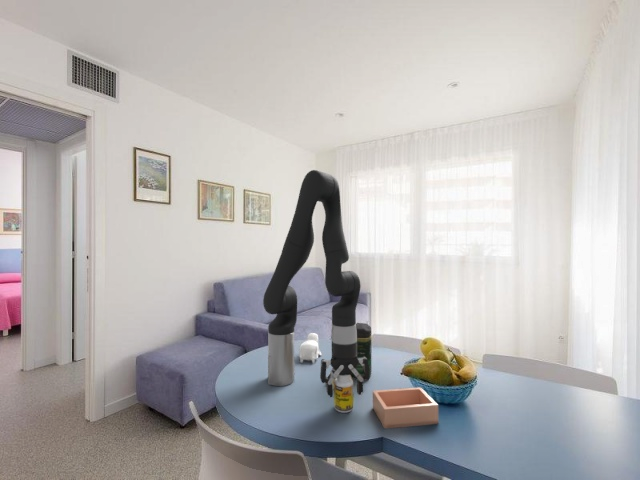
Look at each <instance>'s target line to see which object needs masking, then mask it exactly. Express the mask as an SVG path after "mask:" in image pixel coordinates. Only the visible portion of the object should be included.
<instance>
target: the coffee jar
mask: <svg viewBox="0 0 640 480" xmlns="http://www.w3.org/2000/svg"><path fill="white" fill-rule="evenodd" d="M356 330H357V358H362V357H363V356H365V357H366V358H367V360H368V365H369V379H370V378H371V376H372V348H373V347H372V346H373V345H372V344H373V343H372V327H371V326H370V325H369V324H368V323H364V322H356ZM356 370H357V371H358V372H359V374H360V375H361V374H363V366H362V365H361V364H360V363H359V364H358V365H357V367H356ZM351 377H352V379H353V380H354V379H355V380H357V379H358V378H357V377H356V376H355V375H354V374H353V373H352V374H351Z"/></svg>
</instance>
